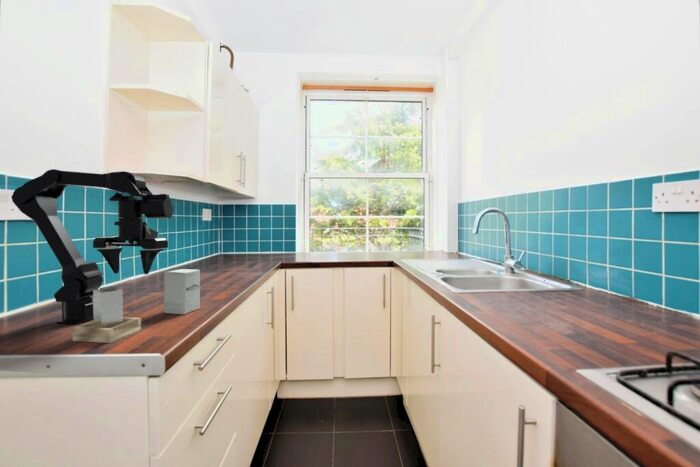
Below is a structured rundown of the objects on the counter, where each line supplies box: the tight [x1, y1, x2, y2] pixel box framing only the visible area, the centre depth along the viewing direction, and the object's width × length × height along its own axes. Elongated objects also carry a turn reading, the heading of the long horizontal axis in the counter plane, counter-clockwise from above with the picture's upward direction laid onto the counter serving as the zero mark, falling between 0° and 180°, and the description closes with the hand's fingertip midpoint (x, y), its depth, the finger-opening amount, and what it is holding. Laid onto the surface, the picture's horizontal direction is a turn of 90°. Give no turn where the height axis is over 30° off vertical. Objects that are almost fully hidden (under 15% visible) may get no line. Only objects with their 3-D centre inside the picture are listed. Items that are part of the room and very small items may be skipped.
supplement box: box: [163, 268, 201, 315], centre depth 103 cm, size 7×7×13 cm
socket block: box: [92, 285, 124, 328], centre depth 80 cm, size 4×4×11 cm
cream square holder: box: [72, 316, 142, 344], centre depth 81 cm, size 10×10×3 cm
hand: (131, 273), depth 93 cm, fingers open, 9 cm apart
